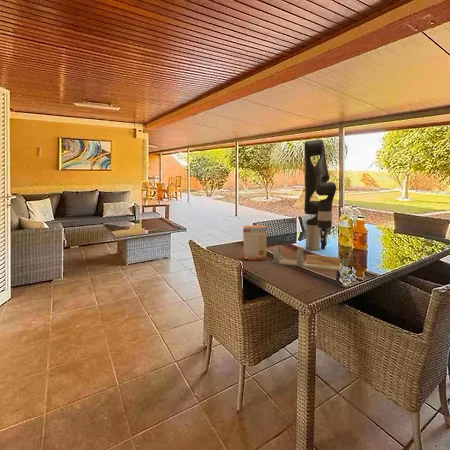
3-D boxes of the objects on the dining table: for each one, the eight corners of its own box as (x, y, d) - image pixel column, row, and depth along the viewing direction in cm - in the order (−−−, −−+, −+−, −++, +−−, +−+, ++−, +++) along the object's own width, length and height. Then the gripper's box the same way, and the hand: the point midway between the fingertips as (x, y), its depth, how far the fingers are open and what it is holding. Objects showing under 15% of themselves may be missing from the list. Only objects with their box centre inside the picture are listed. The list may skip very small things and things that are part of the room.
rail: (306, 261, 176) (307, 254, 175) (339, 264, 168) (340, 257, 168) (305, 263, 172) (306, 256, 171) (339, 266, 165) (339, 259, 164)
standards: (275, 259, 185) (275, 245, 184) (304, 262, 178) (305, 247, 176) (271, 263, 178) (271, 248, 176) (302, 266, 171) (302, 250, 169)
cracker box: (265, 257, 190) (265, 224, 186) (266, 260, 184) (266, 226, 180) (243, 257, 191) (243, 225, 187) (243, 260, 185) (243, 226, 181)
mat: (305, 261, 179) (306, 259, 179) (341, 265, 171) (342, 263, 171) (303, 266, 170) (303, 264, 170) (340, 270, 162) (341, 268, 162)
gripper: (319, 216, 173) (318, 243, 176) (316, 220, 160) (315, 250, 164) (332, 217, 170) (331, 244, 173) (330, 221, 158) (329, 251, 161)
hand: (323, 247), depth 169 cm, fingers open, 8 cm apart
